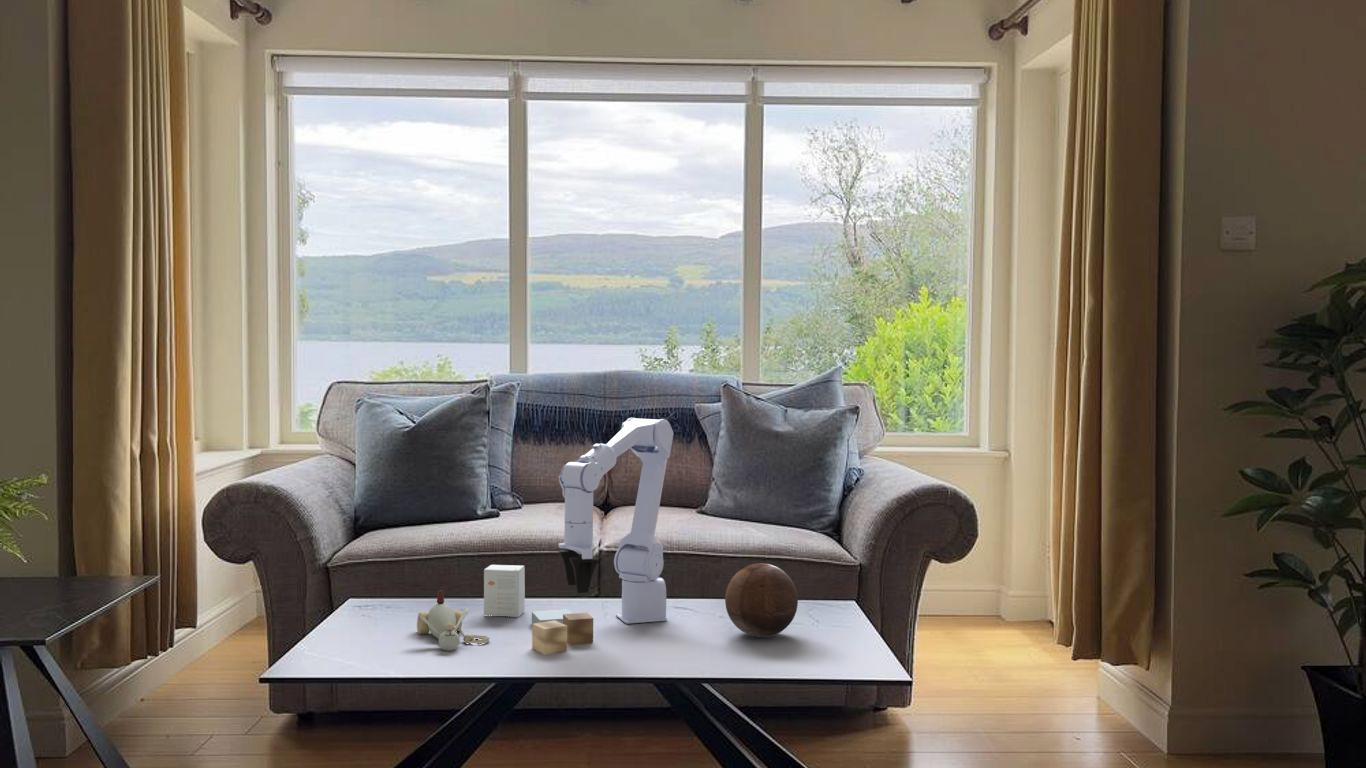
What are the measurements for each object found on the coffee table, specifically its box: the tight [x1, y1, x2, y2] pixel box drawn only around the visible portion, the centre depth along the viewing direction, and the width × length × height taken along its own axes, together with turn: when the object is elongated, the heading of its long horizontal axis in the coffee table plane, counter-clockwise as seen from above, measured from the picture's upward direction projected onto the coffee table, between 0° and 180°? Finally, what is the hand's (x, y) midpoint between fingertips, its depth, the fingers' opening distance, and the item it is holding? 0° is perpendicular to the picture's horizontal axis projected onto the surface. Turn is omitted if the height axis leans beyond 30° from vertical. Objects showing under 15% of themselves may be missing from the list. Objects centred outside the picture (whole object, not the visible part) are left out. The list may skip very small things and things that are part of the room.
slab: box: [531, 608, 573, 625], centre depth 224 cm, size 8×8×3 cm
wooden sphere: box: [724, 562, 799, 638], centre depth 219 cm, size 15×15×15 cm
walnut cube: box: [563, 612, 594, 645], centre depth 214 cm, size 5×5×5 cm
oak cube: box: [531, 620, 568, 656], centre depth 207 cm, size 5×5×5 cm
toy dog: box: [416, 589, 491, 652], centre depth 213 cm, size 12×19×9 cm, turn 42°
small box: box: [483, 564, 526, 618], centre depth 235 cm, size 8×6×10 cm
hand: (577, 588), depth 214 cm, fingers open, 7 cm apart
